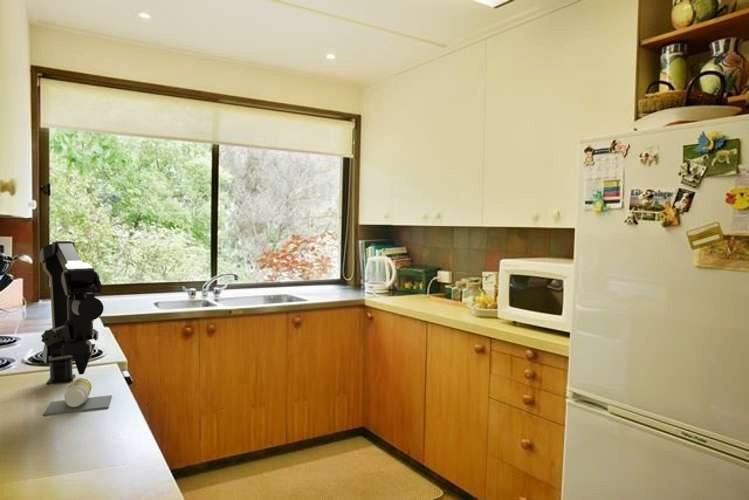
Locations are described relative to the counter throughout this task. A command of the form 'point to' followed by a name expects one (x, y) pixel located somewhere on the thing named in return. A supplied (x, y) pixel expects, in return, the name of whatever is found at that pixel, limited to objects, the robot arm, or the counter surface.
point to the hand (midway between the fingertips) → (81, 374)
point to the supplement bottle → (77, 392)
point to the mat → (88, 405)
